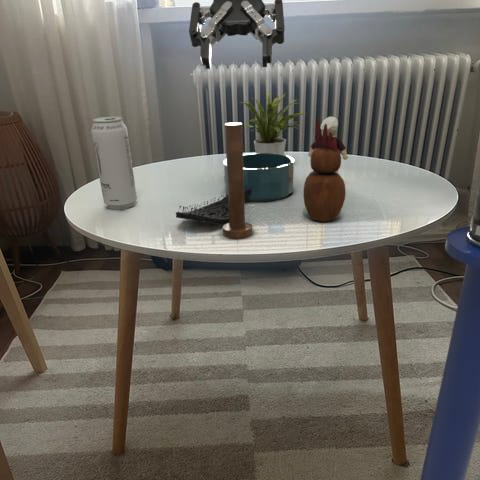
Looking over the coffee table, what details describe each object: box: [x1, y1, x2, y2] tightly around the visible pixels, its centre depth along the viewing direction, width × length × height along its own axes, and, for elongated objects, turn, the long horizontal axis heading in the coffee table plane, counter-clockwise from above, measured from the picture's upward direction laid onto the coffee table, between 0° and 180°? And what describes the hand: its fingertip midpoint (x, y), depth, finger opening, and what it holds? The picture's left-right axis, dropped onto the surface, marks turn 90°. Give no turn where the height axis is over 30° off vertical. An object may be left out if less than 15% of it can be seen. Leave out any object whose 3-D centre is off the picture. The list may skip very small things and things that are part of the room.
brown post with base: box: [222, 121, 253, 240], centre depth 72 cm, size 5×5×16 cm
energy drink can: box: [90, 116, 138, 211], centre depth 87 cm, size 6×6×15 cm
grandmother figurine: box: [307, 115, 349, 174], centre depth 95 cm, size 8×4×13 cm, turn 80°
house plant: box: [239, 89, 307, 155], centre depth 106 cm, size 14×14×16 cm
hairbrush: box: [175, 189, 251, 226], centre depth 85 cm, size 8×4×25 cm
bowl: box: [222, 152, 295, 203], centre depth 94 cm, size 13×13×6 cm
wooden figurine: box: [302, 119, 346, 222], centre depth 77 cm, size 7×6×15 cm
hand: (236, 64), depth 73 cm, fingers open, 8 cm apart
